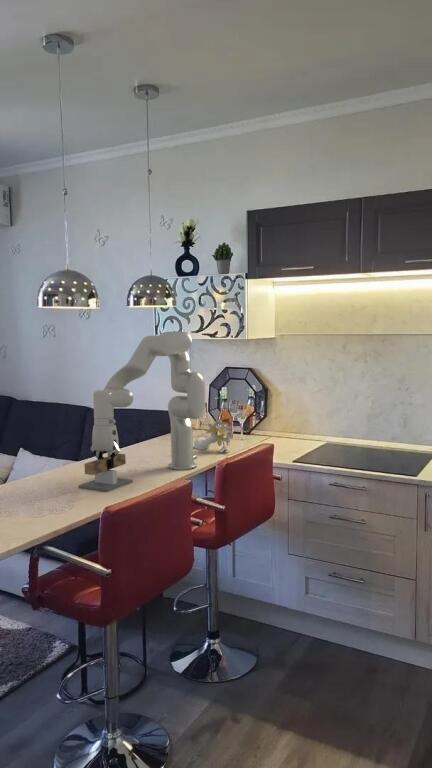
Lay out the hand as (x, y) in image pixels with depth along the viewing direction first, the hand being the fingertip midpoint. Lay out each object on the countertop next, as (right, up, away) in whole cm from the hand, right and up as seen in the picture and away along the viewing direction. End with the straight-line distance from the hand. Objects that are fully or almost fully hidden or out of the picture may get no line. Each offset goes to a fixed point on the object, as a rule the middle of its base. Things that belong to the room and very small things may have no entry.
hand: (105, 467), depth 232 cm
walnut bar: (0, -1, 0) cm, 0 cm away
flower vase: (+42, -2, +65) cm, 77 cm away
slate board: (0, -7, 0) cm, 7 cm away
